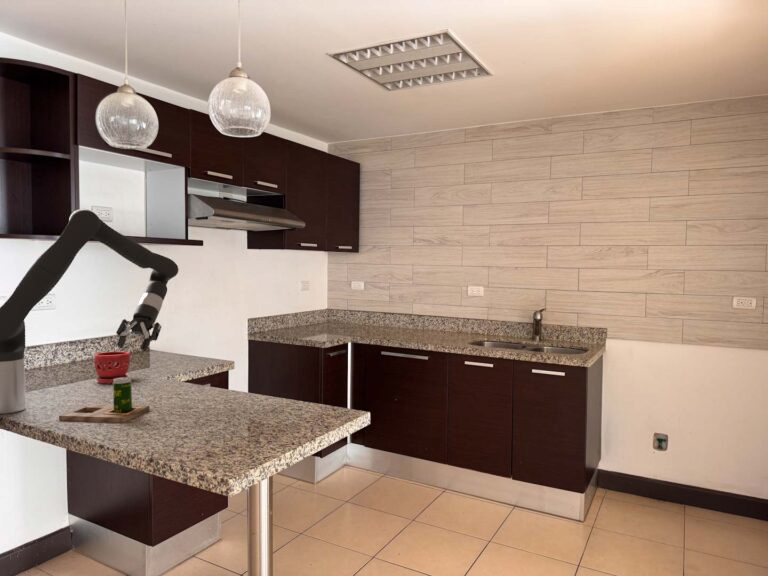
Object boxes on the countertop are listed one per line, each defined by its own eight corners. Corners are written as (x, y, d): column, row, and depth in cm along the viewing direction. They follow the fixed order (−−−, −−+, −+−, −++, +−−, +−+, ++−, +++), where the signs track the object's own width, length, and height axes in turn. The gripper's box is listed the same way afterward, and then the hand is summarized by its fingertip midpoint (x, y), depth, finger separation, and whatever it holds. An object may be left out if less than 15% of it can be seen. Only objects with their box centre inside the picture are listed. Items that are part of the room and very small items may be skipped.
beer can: (124, 412, 181) (123, 376, 181) (136, 414, 179) (135, 377, 179) (110, 416, 176) (108, 379, 176) (122, 418, 174) (120, 381, 174)
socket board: (59, 420, 173) (58, 414, 173) (88, 408, 187) (88, 403, 187) (124, 422, 170) (124, 416, 170) (149, 410, 184) (149, 405, 184)
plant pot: (129, 383, 226) (128, 354, 225) (93, 386, 221) (92, 356, 221) (131, 377, 238) (130, 349, 237) (97, 379, 233) (96, 351, 233)
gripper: (125, 301, 196) (106, 341, 187) (162, 304, 194) (145, 345, 185) (135, 312, 202) (117, 351, 193) (171, 315, 200) (154, 355, 191)
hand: (131, 348), depth 189 cm, fingers open, 8 cm apart
